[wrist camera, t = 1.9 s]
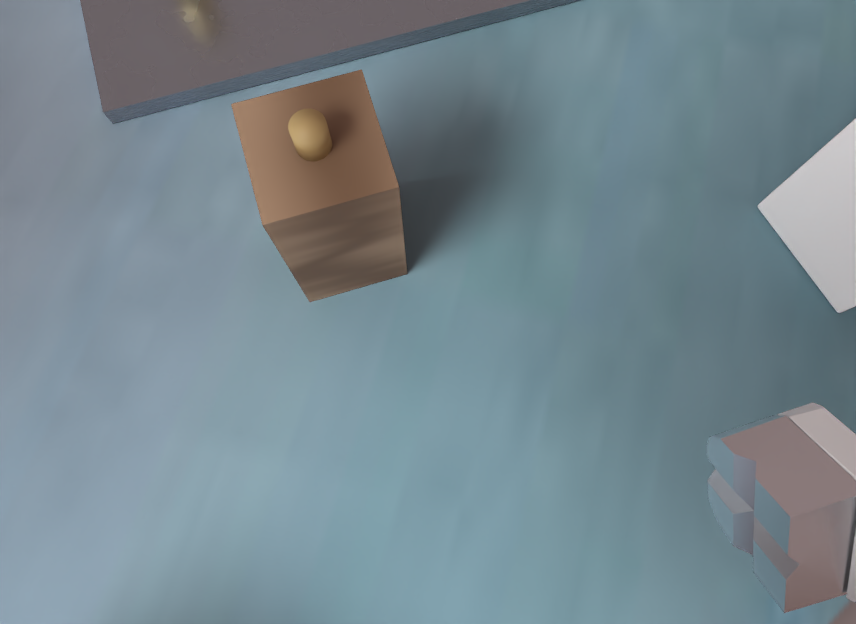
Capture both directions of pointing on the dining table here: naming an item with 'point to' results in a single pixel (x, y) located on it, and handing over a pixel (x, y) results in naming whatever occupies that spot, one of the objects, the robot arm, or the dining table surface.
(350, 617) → the dining table surface
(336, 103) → the walnut peg
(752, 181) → the dining table surface
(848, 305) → the milk
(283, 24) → the bolt plate
